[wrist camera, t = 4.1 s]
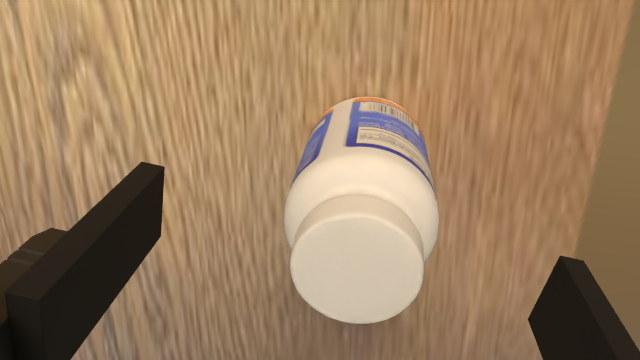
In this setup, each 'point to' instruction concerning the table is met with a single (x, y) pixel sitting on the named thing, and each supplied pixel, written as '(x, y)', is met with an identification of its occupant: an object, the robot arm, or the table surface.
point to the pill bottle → (362, 212)
